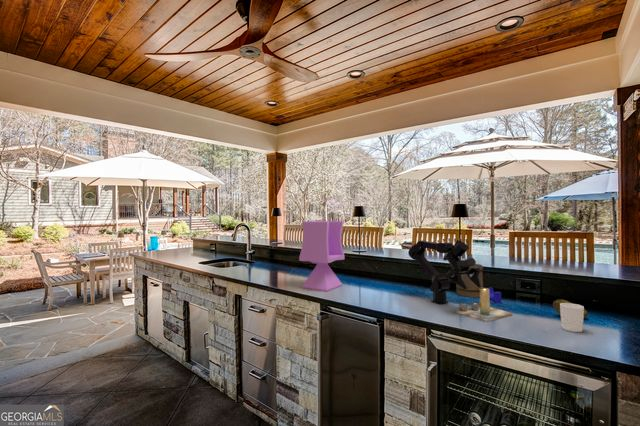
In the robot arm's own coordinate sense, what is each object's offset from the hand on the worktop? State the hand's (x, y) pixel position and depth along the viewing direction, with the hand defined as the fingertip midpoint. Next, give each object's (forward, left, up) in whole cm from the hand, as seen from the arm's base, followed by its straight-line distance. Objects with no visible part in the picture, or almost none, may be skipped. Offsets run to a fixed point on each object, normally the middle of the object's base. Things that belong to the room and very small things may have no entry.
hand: (473, 288), depth 152 cm
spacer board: (+2, +4, -13) cm, 14 cm away
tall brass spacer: (+6, -1, -11) cm, 13 cm away
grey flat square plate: (+6, -1, -13) cm, 14 cm away
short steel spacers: (-1, +5, -12) cm, 13 cm away
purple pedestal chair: (-88, -37, -13) cm, 96 cm away
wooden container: (-26, +32, -13) cm, 43 cm away
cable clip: (-11, +32, -13) cm, 36 cm away
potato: (+25, +34, -13) cm, 45 cm away
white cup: (+33, +17, -13) cm, 40 cm away
